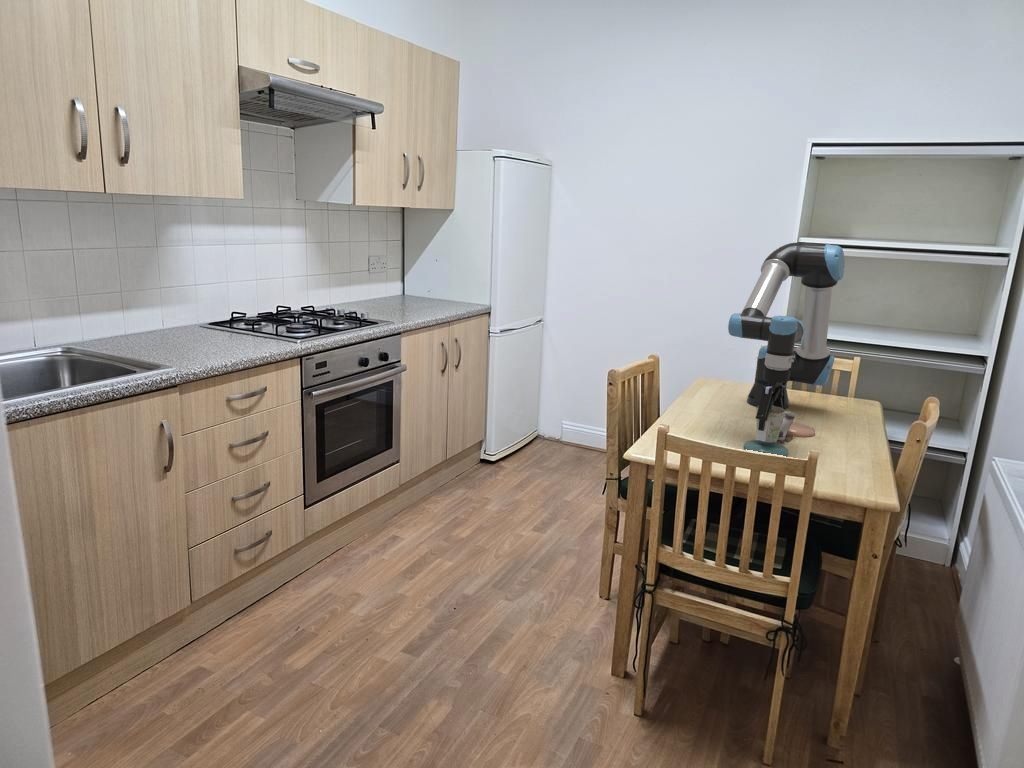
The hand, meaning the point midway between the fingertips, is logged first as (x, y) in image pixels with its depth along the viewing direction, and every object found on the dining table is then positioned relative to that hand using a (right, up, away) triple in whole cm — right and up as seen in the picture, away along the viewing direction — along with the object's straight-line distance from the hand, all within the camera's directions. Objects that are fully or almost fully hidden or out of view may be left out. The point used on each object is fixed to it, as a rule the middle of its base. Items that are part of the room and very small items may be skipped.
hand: (767, 435), depth 214 cm
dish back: (+17, 0, +22) cm, 28 cm away
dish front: (0, -5, +1) cm, 5 cm away
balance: (+10, -2, +13) cm, 17 cm away
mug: (0, -2, +1) cm, 2 cm away
